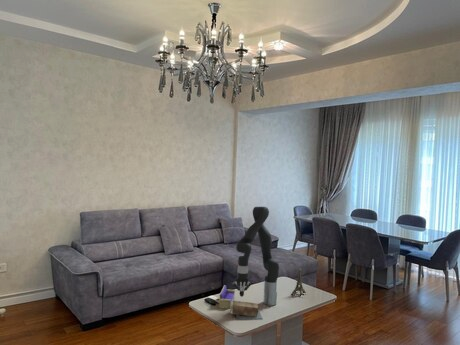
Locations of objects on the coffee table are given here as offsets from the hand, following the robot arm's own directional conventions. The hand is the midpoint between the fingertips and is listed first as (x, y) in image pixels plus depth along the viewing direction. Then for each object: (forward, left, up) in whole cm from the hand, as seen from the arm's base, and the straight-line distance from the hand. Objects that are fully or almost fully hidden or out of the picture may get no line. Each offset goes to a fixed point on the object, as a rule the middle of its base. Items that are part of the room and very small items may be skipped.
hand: (241, 296), depth 239 cm
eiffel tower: (-54, -39, -13) cm, 68 cm away
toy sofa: (+8, -21, -13) cm, 26 cm away
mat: (-5, 0, -13) cm, 14 cm away
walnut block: (+7, 0, -8) cm, 10 cm away
